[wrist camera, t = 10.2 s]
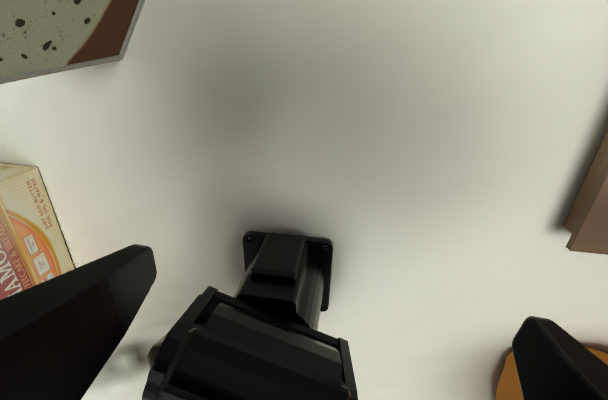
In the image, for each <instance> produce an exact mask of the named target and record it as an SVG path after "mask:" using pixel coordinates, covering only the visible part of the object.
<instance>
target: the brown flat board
mask: <svg viewBox="0 0 608 400" xmlns="http://www.w3.org/2000/svg"><path fill="white" fill-rule="evenodd" d="M563 226H564V227H565V228H566V229H567V230H569V231H570V232H571V233H572V235H571V237H570V239H569V241H568V243H567V245H566V247H567V248H568V249H569V250H570V251H578V252H587V253H597V254H607V255H608V130H607V132H606V134H605V137H604V139H603V141H602V143H601V145H600V147H599V149H598V152H597V154H596V156H595V158H594V160H593V162H592V165H591V167H590V169H589V171H588V173H587V175H586V177H585V180H584V182H583V184H582V186H581V188H580V190H579V193H578V195H577V197H576V199H575V201H574V203H573V205H572V208H571V210H570V212H569V214H568V216H567V218H566V220H565V223H564V225H563Z"/></svg>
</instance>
